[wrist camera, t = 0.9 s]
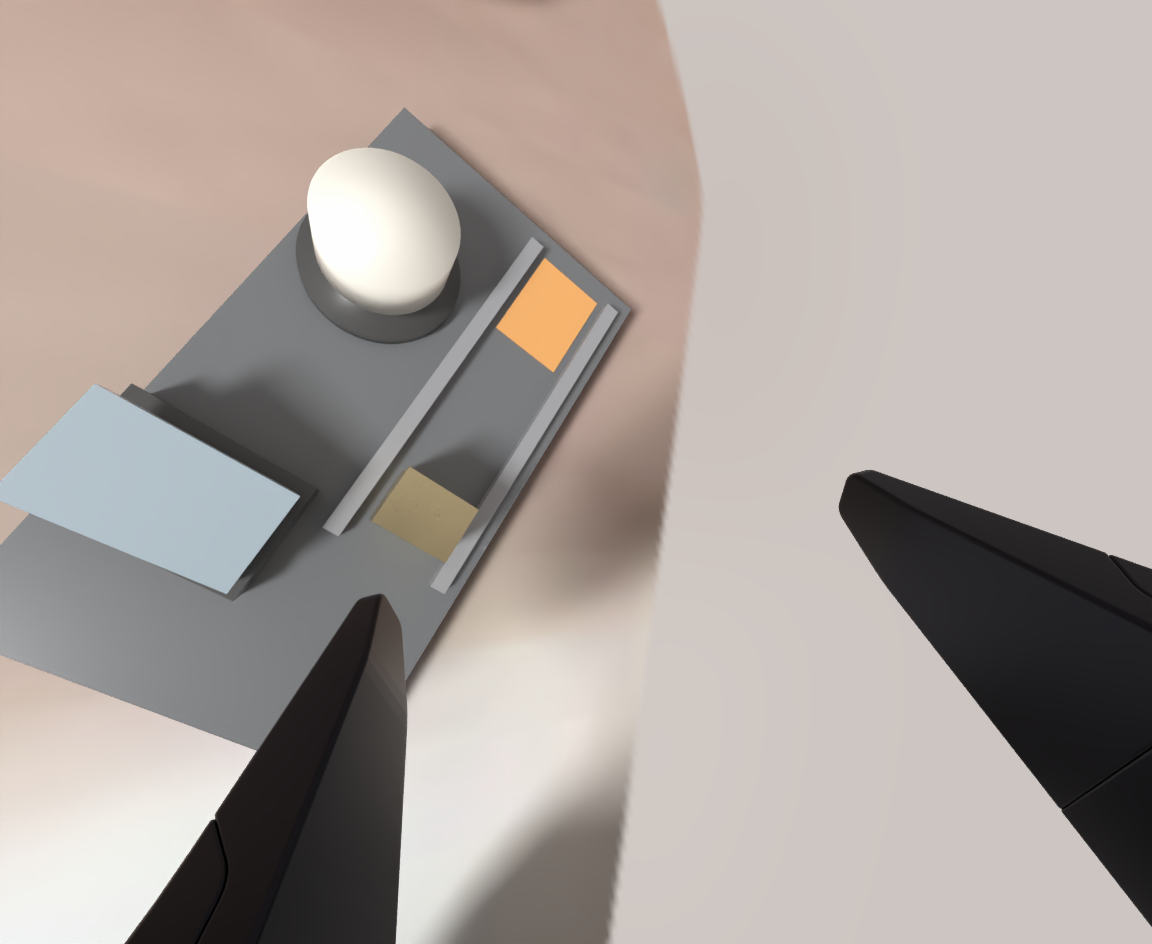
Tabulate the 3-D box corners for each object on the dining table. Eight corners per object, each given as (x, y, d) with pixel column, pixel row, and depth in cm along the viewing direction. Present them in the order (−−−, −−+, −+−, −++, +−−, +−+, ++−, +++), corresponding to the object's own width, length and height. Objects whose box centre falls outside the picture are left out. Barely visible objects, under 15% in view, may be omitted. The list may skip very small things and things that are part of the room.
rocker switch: (227, 585, 14) (226, 594, 13) (5, 491, 12) (-13, 495, 11) (297, 493, 15) (300, 496, 14) (104, 387, 12) (94, 383, 12)
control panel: (344, 761, 18) (342, 806, 15) (-34, 614, 14) (-123, 640, 12) (615, 320, 24) (647, 298, 21) (401, 134, 20) (408, 78, 18)
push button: (404, 340, 17) (410, 318, 15) (283, 253, 16) (272, 217, 14) (471, 252, 18) (486, 220, 16) (365, 164, 17) (366, 117, 15)
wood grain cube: (431, 554, 18) (445, 563, 15) (369, 518, 17) (371, 521, 15) (460, 509, 19) (479, 509, 16) (401, 472, 18) (409, 466, 15)
